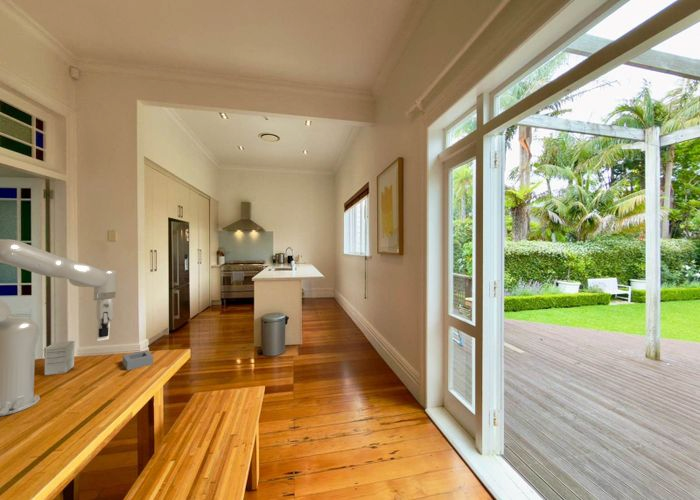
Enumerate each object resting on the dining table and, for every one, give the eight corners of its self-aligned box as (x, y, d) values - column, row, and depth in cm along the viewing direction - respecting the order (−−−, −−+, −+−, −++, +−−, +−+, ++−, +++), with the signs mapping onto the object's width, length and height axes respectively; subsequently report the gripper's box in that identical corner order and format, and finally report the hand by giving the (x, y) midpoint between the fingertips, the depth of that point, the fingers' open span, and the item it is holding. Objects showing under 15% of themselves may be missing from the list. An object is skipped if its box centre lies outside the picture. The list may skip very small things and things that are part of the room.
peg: (109, 339, 122) (110, 319, 122) (97, 341, 119) (98, 321, 119) (107, 337, 124) (108, 318, 125) (96, 339, 121) (97, 319, 122)
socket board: (153, 364, 132) (153, 356, 132) (127, 370, 124) (127, 362, 124) (147, 357, 139) (147, 350, 139) (122, 363, 132) (122, 355, 132)
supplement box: (53, 369, 124) (54, 342, 124) (74, 366, 127) (75, 340, 127) (43, 375, 117) (44, 347, 118) (65, 372, 121) (66, 345, 121)
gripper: (118, 297, 120) (116, 337, 119) (112, 293, 131) (110, 330, 130) (95, 299, 114) (93, 341, 113) (91, 294, 125) (89, 333, 124)
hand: (102, 335), depth 122 cm, fingers closed on peg, 4 cm apart
